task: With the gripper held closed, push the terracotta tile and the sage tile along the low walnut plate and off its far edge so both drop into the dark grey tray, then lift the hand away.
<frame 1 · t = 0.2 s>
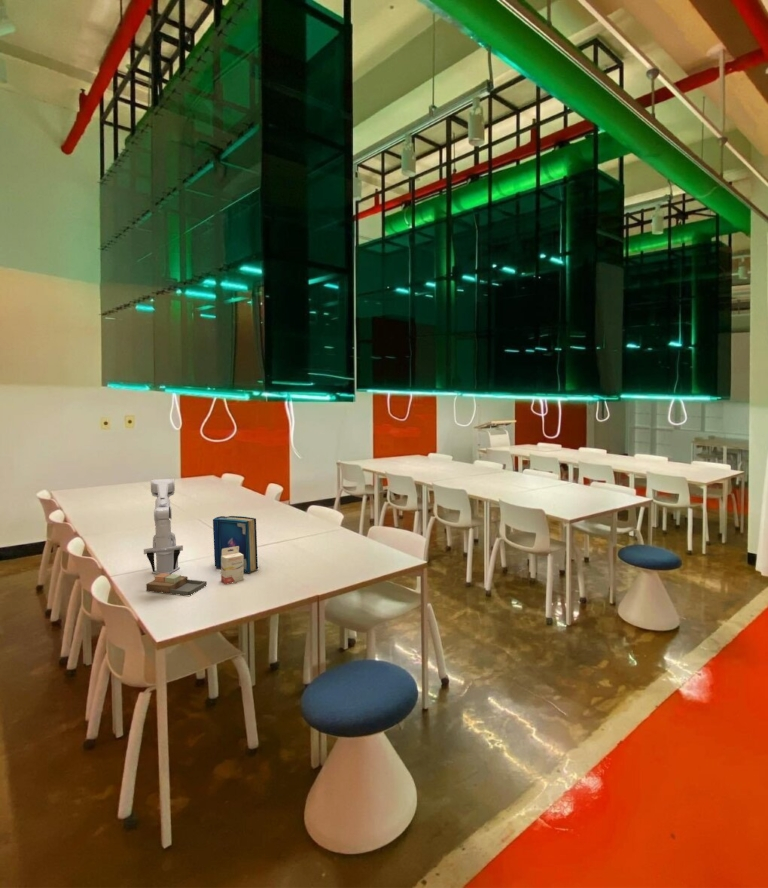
hand: (164, 570, 199), 10 cm above the table, tool pointing down, fingers open, 7 cm apart
tile a: (162, 579, 208), point 3 cm above the table, touching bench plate
tile b: (173, 580, 207), point 3 cm above the table, touching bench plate
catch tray: (188, 589, 206), on the table
book: (235, 569, 232), on the table
ink cartridge box: (232, 581, 217), on the table
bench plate: (167, 587, 208), on the table
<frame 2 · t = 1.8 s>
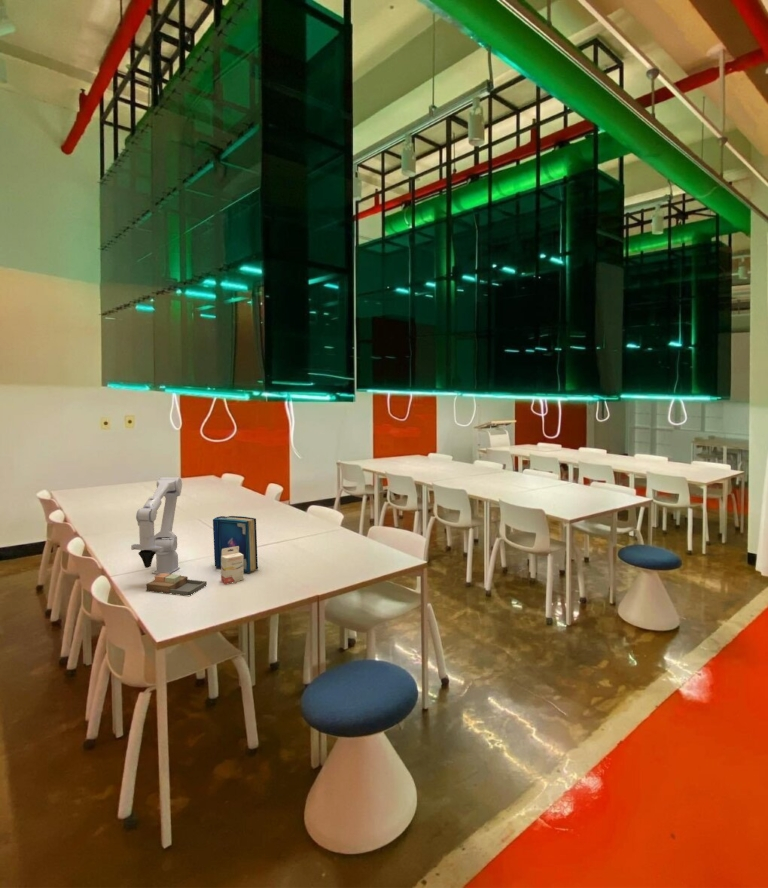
hand: (147, 567, 210), 8 cm above the table, tool pointing down, fingers closed
nothing on the table moved.
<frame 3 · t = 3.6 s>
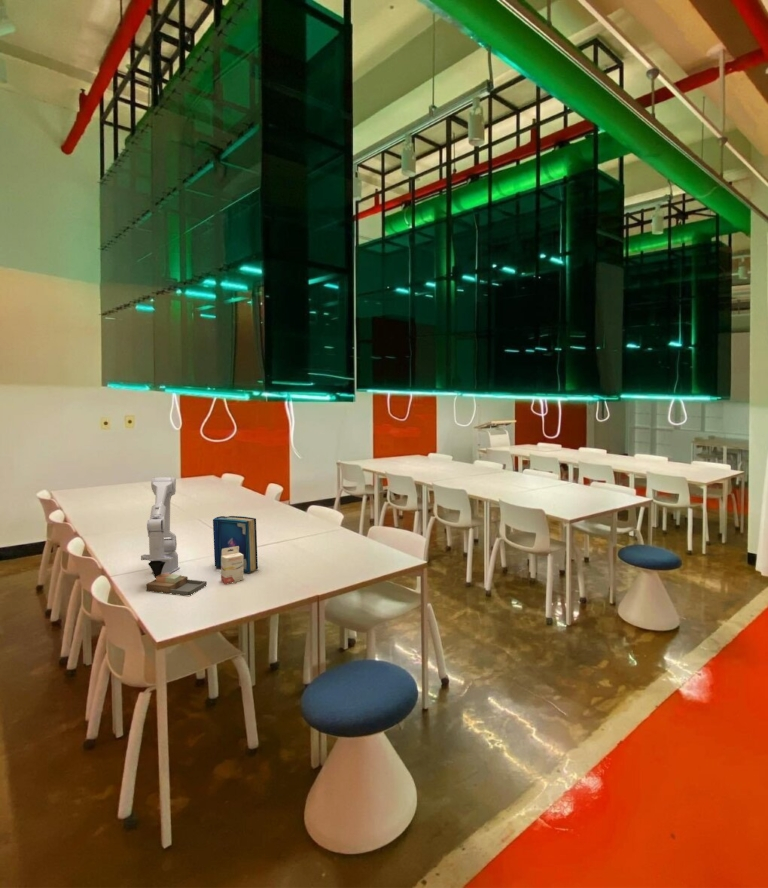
hand: (157, 577, 209), 4 cm above the table, tool pointing down, fingers closed
tile a: (164, 579, 208), point 3 cm above the table, touching gripper, tile b
tile b: (173, 580, 207), point 3 cm above the table, touching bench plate, tile a
everything else where it was.
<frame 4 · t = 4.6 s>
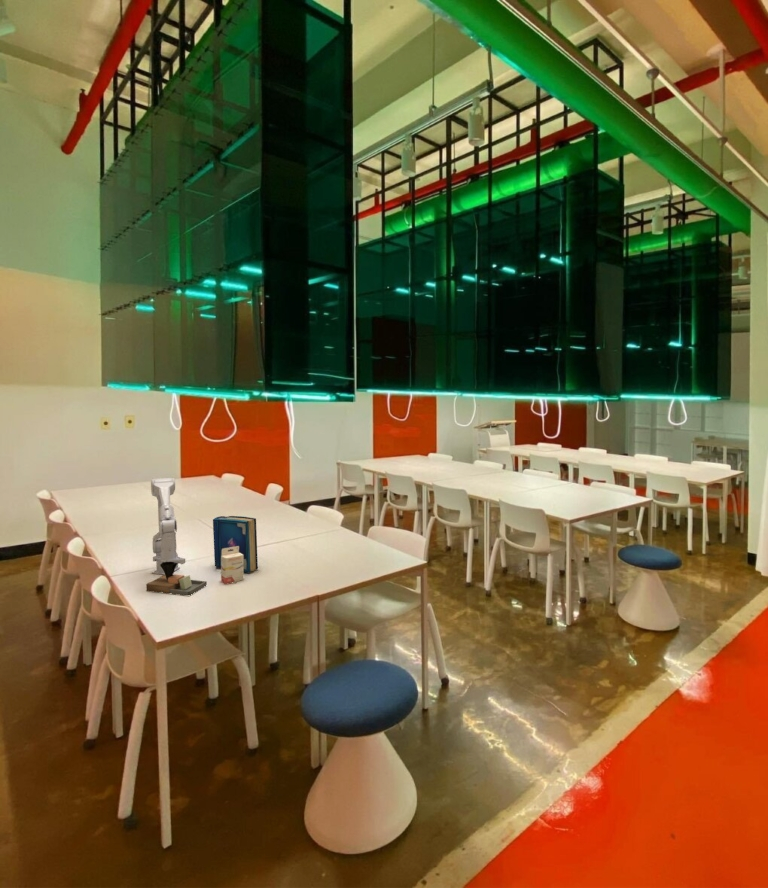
hand: (169, 578, 208), 4 cm above the table, tool pointing down, fingers closed
tile a: (176, 581, 207), point 3 cm above the table, touching gripper
tile b: (183, 582, 206), point 3 cm above the table, tilted 75°, touching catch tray
everything else where it was.
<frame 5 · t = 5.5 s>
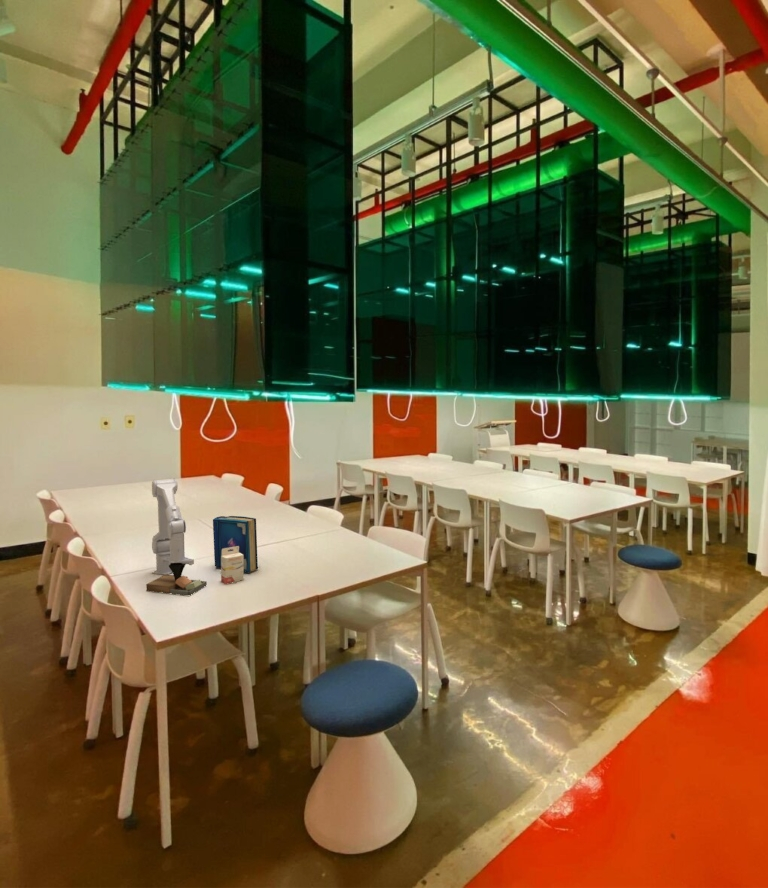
hand: (177, 579, 207), 4 cm above the table, tool pointing down, fingers closed
tile a: (182, 583, 206), point 2 cm above the table, tilted 28°, touching gripper, tile b
tile b: (192, 582, 205), point 3 cm above the table, tilted 158°, touching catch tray, tile a
everything else where it was.
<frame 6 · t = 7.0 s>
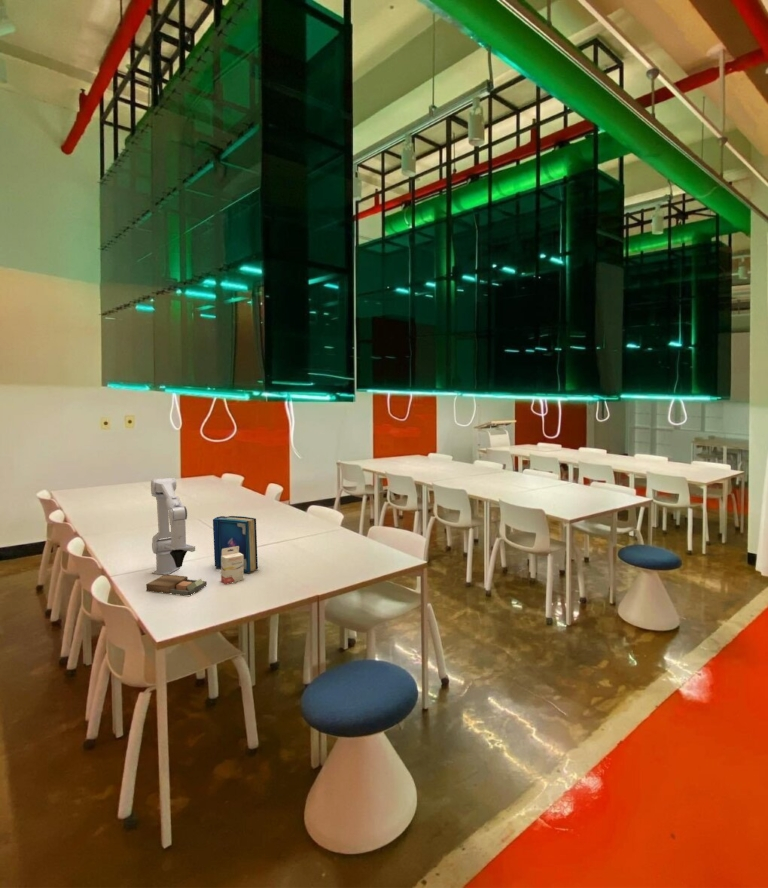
hand: (179, 566, 206), 9 cm above the table, tool pointing down, fingers closed
tile a: (184, 588, 206), resting on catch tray
tile b: (193, 582, 205), point 3 cm above the table, tilted 151°, touching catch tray
everything else where it was.
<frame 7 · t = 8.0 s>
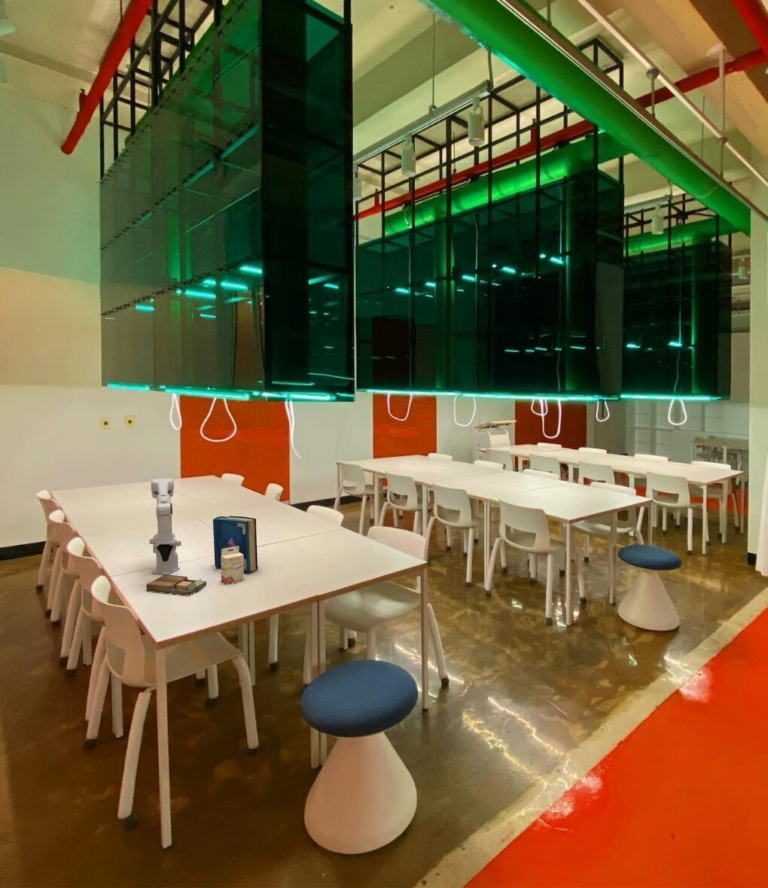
hand: (165, 561, 213), 9 cm above the table, tool pointing down, fingers closed
nothing on the table moved.
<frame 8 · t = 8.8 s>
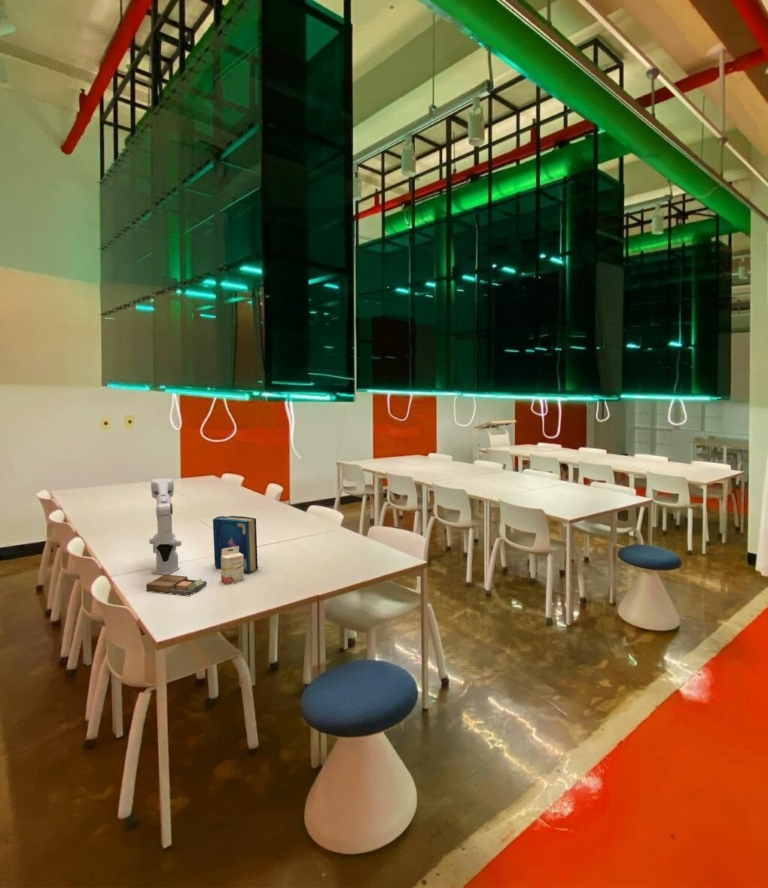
hand: (165, 561, 213), 9 cm above the table, tool pointing down, fingers closed
nothing on the table moved.
at the end: tile a inside the target area on the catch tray (2.2 cm from its centre), point 0.4 cm above the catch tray's base; tile b inside the target area on the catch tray (2.3 cm from its centre), point 3.2 cm above the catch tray's base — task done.
